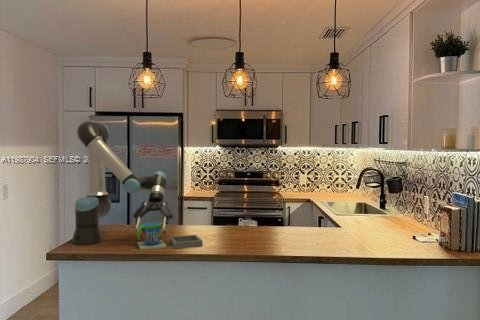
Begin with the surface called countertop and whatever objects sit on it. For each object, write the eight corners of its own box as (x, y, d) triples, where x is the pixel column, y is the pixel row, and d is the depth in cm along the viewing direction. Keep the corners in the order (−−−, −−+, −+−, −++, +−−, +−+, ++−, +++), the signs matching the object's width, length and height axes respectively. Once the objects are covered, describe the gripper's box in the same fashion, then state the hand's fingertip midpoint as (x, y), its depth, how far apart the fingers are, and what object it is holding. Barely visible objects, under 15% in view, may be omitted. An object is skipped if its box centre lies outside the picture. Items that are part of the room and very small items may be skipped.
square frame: (174, 248, 205) (174, 242, 205) (169, 242, 218) (169, 236, 218) (202, 246, 210) (202, 240, 210) (195, 240, 223) (195, 234, 223)
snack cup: (162, 239, 220) (161, 220, 219) (170, 242, 211) (169, 222, 211) (134, 244, 211) (132, 224, 211) (141, 248, 202) (139, 227, 202)
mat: (140, 249, 203) (140, 247, 203) (137, 243, 215) (137, 242, 215) (166, 247, 207) (166, 245, 207) (162, 241, 220) (162, 240, 220)
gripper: (180, 200, 226) (176, 233, 211) (135, 200, 226) (127, 232, 212) (178, 191, 220) (174, 224, 206) (132, 191, 221) (124, 224, 206)
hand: (150, 229), depth 209 cm, fingers open, 13 cm apart
